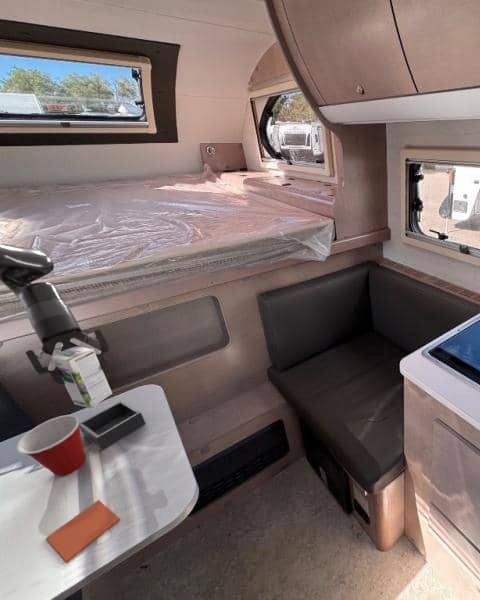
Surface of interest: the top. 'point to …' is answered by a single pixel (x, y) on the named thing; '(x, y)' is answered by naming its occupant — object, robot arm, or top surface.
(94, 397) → the syrup box
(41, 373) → the robot arm
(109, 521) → the mat
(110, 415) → the caddy
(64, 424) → the plastic cup
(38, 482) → the top surface
